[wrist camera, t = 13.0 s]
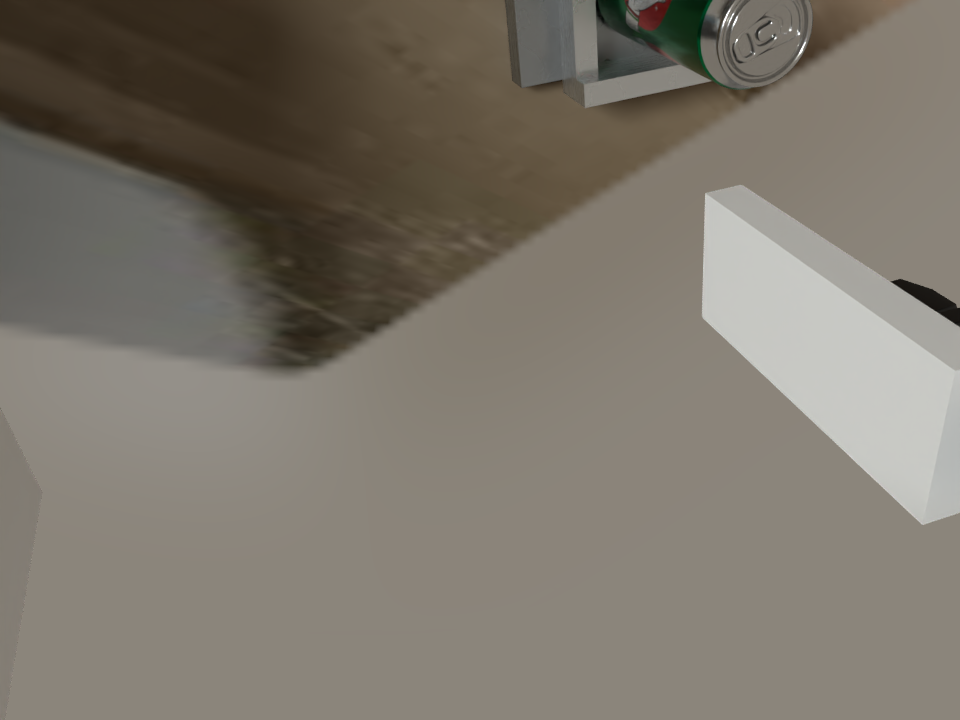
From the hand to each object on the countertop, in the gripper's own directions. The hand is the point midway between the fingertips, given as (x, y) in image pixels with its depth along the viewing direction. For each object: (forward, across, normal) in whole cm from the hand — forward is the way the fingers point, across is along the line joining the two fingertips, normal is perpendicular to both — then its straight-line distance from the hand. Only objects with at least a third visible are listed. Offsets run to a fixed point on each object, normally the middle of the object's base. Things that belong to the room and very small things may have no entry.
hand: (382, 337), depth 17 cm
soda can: (+31, +20, -2) cm, 37 cm away
